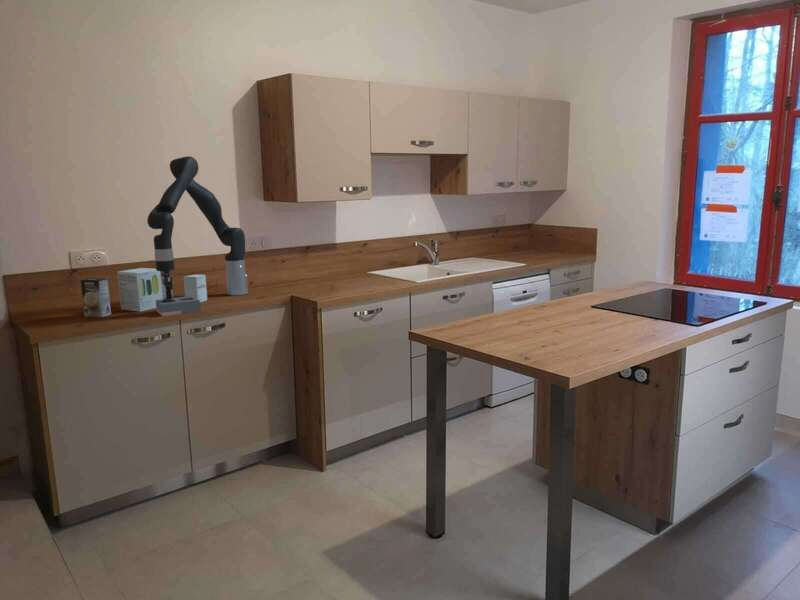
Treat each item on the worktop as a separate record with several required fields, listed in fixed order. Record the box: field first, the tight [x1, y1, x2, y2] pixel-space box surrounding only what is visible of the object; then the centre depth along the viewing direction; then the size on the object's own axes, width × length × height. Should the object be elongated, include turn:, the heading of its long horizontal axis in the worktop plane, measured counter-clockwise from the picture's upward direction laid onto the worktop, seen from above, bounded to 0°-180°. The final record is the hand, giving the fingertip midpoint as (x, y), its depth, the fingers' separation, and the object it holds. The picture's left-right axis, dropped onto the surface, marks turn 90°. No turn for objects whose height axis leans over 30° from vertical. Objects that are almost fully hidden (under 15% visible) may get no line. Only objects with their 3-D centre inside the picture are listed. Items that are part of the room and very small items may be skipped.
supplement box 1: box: [117, 267, 163, 312], centre depth 287 cm, size 13×13×18 cm
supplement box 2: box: [183, 274, 208, 303], centre depth 299 cm, size 7×7×13 cm
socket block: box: [155, 296, 202, 317], centre depth 277 cm, size 16×14×5 cm
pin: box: [161, 283, 174, 303], centre depth 274 cm, size 4×4×10 cm
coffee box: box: [80, 277, 112, 318], centre depth 272 cm, size 9×6×16 cm
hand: (168, 298), depth 275 cm, fingers closed on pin, 4 cm apart
